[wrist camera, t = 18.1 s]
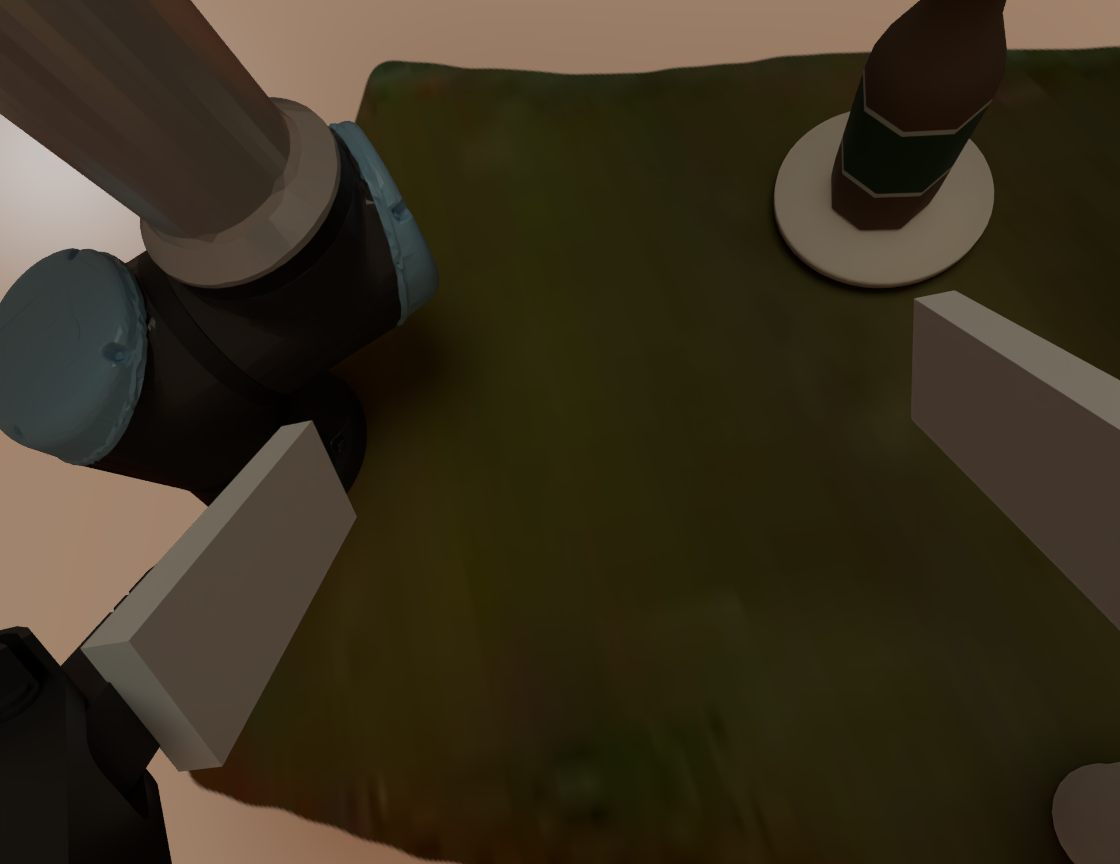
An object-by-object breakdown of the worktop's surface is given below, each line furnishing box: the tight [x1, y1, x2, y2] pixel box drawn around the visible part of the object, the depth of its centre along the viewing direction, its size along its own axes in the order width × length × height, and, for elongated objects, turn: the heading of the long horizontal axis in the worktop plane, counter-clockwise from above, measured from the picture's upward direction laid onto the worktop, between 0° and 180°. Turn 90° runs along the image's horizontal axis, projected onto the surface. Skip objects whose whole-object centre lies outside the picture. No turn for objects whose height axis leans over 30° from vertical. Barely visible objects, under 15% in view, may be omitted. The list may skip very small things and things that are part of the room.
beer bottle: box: [831, 0, 1007, 230], centre depth 39 cm, size 8×8×24 cm
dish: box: [773, 112, 994, 288], centre depth 51 cm, size 16×16×2 cm
